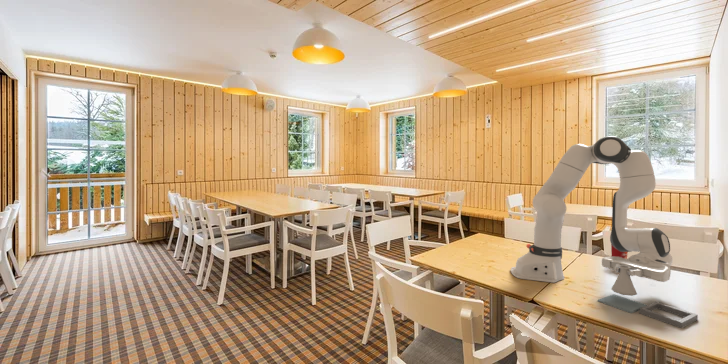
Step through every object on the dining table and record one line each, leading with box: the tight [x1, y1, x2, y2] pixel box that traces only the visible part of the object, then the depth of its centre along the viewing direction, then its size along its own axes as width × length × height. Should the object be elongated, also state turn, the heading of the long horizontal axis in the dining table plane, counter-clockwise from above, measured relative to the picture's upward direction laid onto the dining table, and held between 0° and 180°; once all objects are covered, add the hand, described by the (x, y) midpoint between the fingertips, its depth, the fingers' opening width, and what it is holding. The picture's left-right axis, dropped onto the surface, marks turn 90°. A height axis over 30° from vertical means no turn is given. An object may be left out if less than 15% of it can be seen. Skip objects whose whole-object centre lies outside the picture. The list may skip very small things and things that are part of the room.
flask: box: [611, 265, 638, 297], centre depth 122 cm, size 7×7×10 cm
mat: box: [597, 293, 648, 314], centre depth 123 cm, size 11×11×1 cm
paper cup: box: [610, 243, 629, 259], centre depth 165 cm, size 8×8×14 cm
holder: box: [639, 301, 699, 329], centre depth 113 cm, size 11×11×2 cm
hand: (622, 271), depth 121 cm, fingers closed on flask, 3 cm apart
